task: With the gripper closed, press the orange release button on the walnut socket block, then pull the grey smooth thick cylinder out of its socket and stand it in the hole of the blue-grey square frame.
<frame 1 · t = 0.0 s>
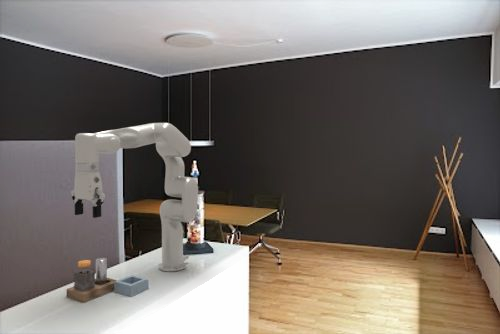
hand: (87, 215, 137), 31 cm above the counter, tool pointing down, fingers open, 9 cm apart
grey smooth thick cylinder: (101, 289, 149), resting in socket block
release button: (84, 271, 142), point 9 cm above the counter, slide at 0.0 cm
socket block: (93, 292, 146), on the counter
blue-grey square frame: (131, 290, 149), on the counter
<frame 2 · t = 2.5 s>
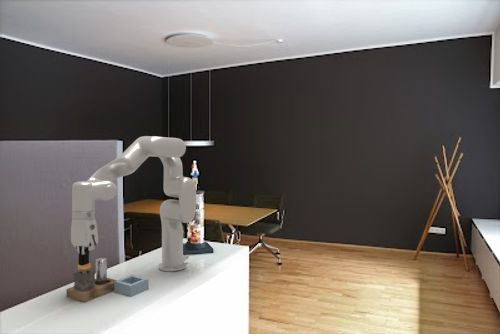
hand: (83, 264, 142), 12 cm above the counter, tool pointing down, fingers closed
release button: (84, 274, 142), point 8 cm above the counter, slide at 0.9 cm, touching gripper
everything else where it was.
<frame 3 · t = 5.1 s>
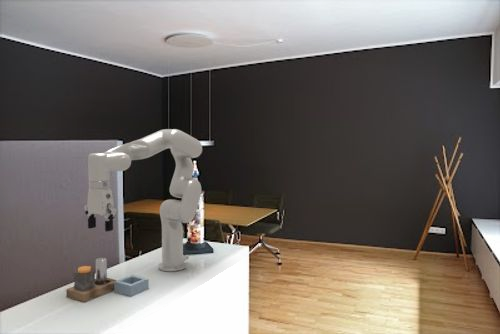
hand: (100, 229, 148), 24 cm above the counter, tool pointing down, fingers open, 9 cm apart
release button: (84, 277, 142), point 7 cm above the counter, slide at 2.3 cm
everything else where it was.
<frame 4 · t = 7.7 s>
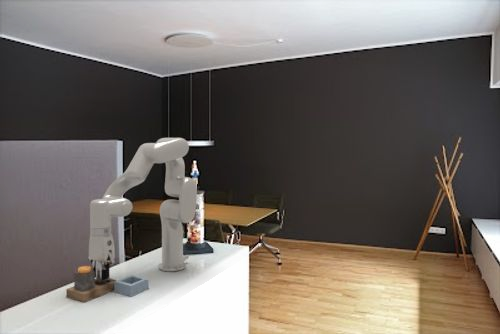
hand: (101, 277, 149), 5 cm above the counter, tool pointing down, fingers closed on grey smooth thick cylinder, 4 cm apart
grey smooth thick cylinder: (101, 289, 149), resting in socket block, touching gripper
everything else where it was.
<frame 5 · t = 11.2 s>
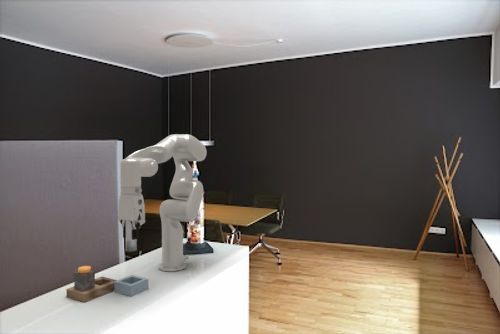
hand: (131, 237, 148), 21 cm above the counter, tool pointing down, fingers closed on grey smooth thick cylinder, 4 cm apart
grey smooth thick cylinder: (131, 250, 148), point 16 cm above the counter, touching gripper
everything else where it was.
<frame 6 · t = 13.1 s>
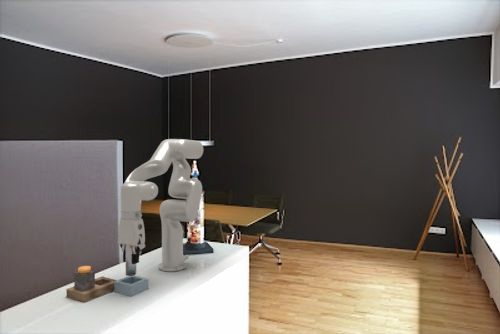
hand: (131, 261, 148), 11 cm above the counter, tool pointing down, fingers closed on grey smooth thick cylinder, 4 cm apart
grey smooth thick cylinder: (131, 274, 148), point 6 cm above the counter, touching gripper
everything else where it was.
when the fingers open (6 cm above the counter, at t = 14.7 s): grey smooth thick cylinder drops 1 cm, resting in blue-grey square frame.
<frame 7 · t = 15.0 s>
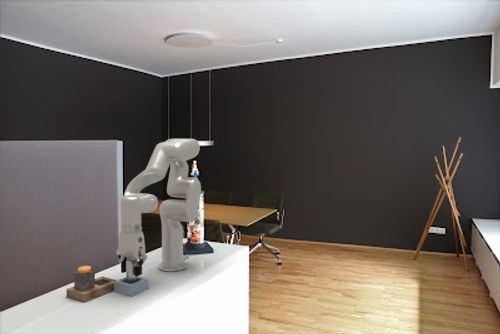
hand: (131, 273, 148), 7 cm above the counter, tool pointing down, fingers open, 6 cm apart
grey smooth thick cylinder: (131, 290, 149), resting in blue-grey square frame
everything else where it was.
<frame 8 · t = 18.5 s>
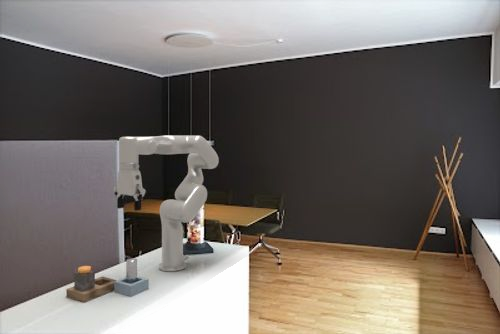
hand: (129, 209, 156), 30 cm above the counter, tool pointing down, fingers open, 9 cm apart
nothing on the counter moved.
at the end: release button slide at 2.3 cm; grey smooth thick cylinder 0.0 cm off-centre on the blue-grey square frame, point 0.0 cm above the blue-grey square frame's base; grey smooth thick cylinder tilted 1° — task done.
